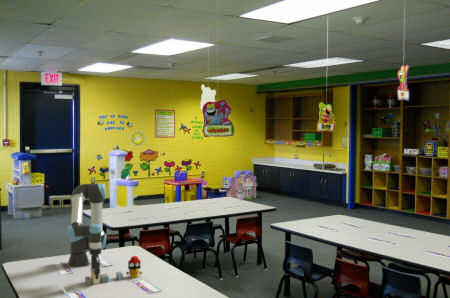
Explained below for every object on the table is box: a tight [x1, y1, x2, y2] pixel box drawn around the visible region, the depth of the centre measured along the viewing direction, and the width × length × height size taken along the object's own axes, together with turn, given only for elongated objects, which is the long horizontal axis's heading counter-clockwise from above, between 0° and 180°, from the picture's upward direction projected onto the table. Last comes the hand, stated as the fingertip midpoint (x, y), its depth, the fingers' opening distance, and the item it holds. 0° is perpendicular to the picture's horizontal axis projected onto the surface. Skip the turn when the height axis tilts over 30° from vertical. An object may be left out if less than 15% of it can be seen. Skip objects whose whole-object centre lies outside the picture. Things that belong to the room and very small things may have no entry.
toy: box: [125, 255, 143, 279], centre depth 317 cm, size 11×9×15 cm
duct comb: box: [84, 271, 124, 286], centre depth 304 cm, size 6×24×5 cm, turn 121°
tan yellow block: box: [90, 268, 101, 285], centre depth 302 cm, size 5×5×9 cm
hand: (95, 282), depth 302 cm, fingers closed on tan yellow block, 5 cm apart
